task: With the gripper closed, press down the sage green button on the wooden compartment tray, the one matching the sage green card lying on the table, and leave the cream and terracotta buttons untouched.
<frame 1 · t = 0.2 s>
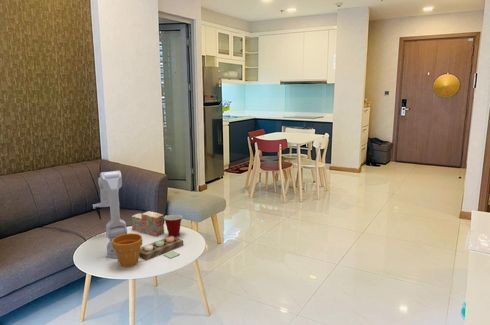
hand: (107, 217, 221), 10 cm above the table, tool pointing down, fingers open, 7 cm apart
plastic cup: (174, 236, 219), on the table
flower pot: (129, 263, 186), on the table
terracotta button: (170, 240, 205), point 3 cm above the table, slide at 0.0 cm
colour card: (171, 255, 194), on the table
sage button: (159, 244, 200), point 3 cm above the table, slide at 0.0 cm
wooden compartment tray: (160, 249, 200), on the table
cream button: (148, 248, 194), point 3 cm above the table, slide at 0.0 cm
stack of blocks: (148, 232, 226), on the table
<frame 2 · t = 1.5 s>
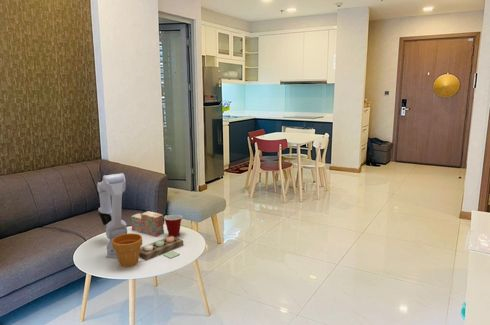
hand: (107, 225, 211), 9 cm above the table, tool pointing down, fingers open, 4 cm apart
nothing on the table moved.
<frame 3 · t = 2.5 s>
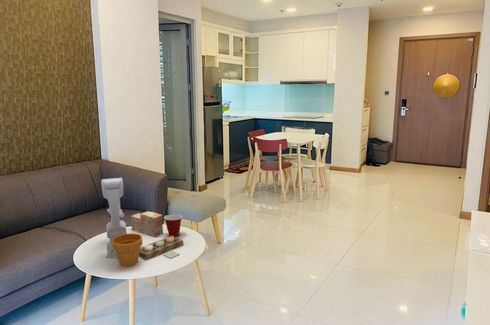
hand: (116, 226, 209), 9 cm above the table, tool pointing down, fingers closed
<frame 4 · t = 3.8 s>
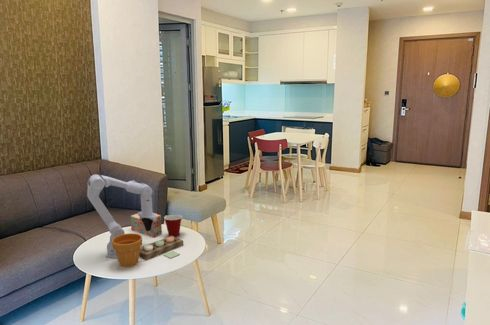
hand: (148, 230, 202), 9 cm above the table, tool pointing down, fingers closed
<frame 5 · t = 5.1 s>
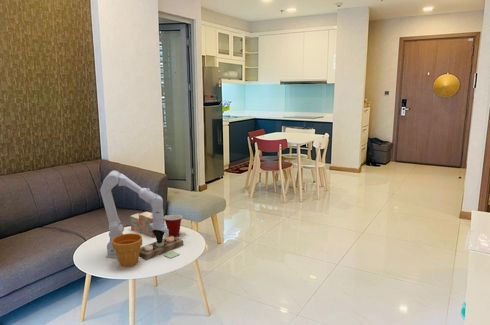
hand: (159, 242, 199), 4 cm above the table, tool pointing down, fingers closed, pressing on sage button
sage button: (159, 245, 200), point 3 cm above the table, slide at 0.2 cm, touching gripper
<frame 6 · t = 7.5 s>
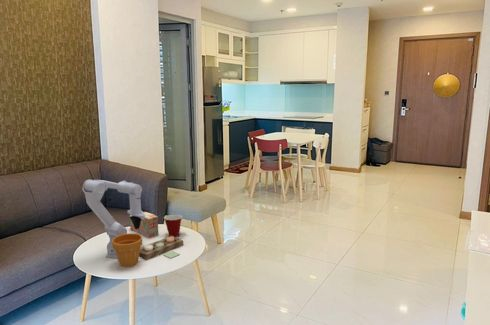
hand: (137, 228, 206), 9 cm above the table, tool pointing down, fingers closed
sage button: (159, 246, 200), point 2 cm above the table, slide at 1.1 cm
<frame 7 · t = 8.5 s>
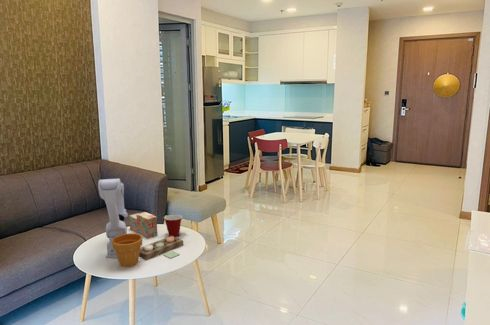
hand: (120, 226, 209), 9 cm above the table, tool pointing down, fingers closed
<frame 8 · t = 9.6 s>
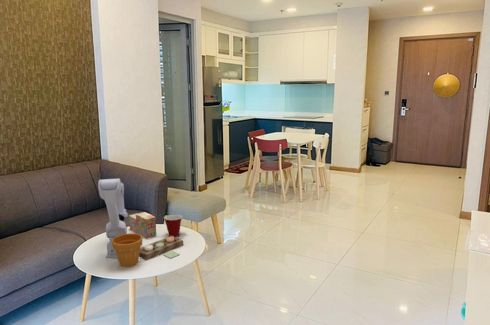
hand: (120, 226, 209), 9 cm above the table, tool pointing down, fingers closed
at the end: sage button slide at 1.1 cm; cream button slide at 0.0 cm; terracotta button slide at 0.0 cm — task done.
